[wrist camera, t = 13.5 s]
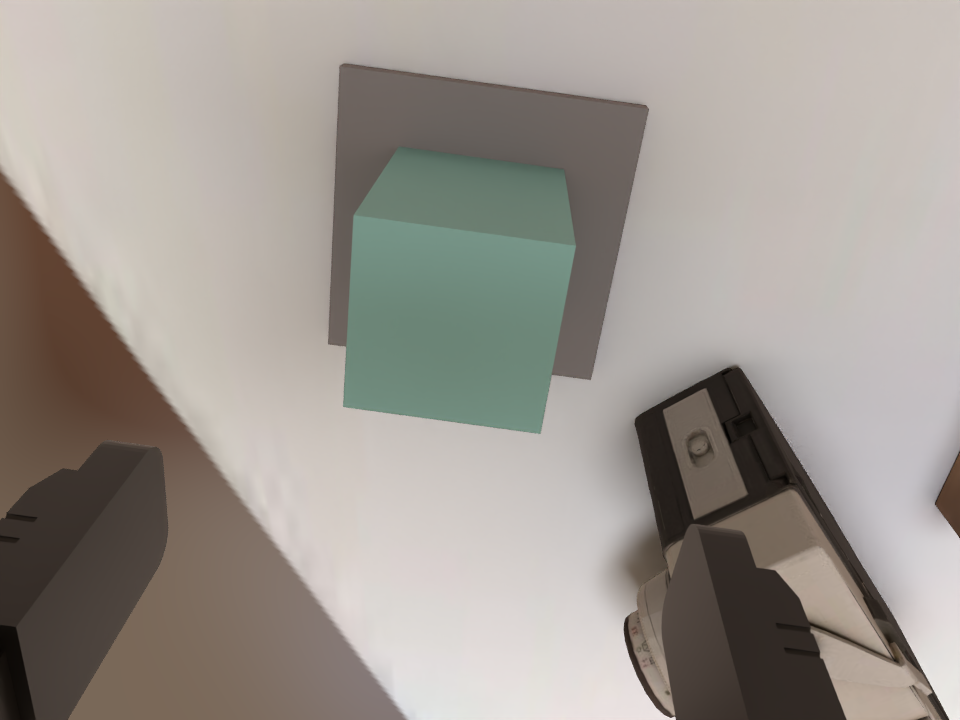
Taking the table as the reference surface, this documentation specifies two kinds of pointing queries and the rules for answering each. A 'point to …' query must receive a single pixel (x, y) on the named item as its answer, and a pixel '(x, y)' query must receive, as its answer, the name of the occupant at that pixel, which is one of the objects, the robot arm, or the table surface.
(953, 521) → the bay
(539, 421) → the block
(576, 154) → the mat
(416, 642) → the table surface
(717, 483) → the camera
